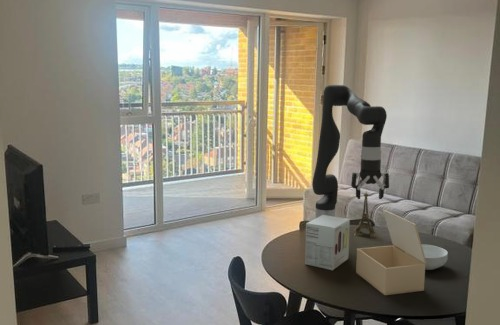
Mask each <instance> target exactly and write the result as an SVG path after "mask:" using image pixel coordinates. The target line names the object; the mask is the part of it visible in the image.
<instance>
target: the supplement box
mask: <svg viewBox="0 0 500 325" xmlns="http://www.w3.org/2000/svg"><path fill="white" fill-rule="evenodd" d="M350 221H351V219H350V218H345V217H339V216H335V217H334V216H328V215H321V216H319V217H317V218H313V219H312V220H310V221H308V222H306V223H305V262H304V263H305V265H308V266H312V267H316V268H321V269H325V270H329V271H334V270H335V269H336V268H339V266H341V265H342V264H343V263H345V262H346V261H347V260H349V248H350V223H351V222H350Z"/></svg>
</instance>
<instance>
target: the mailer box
mask: <svg viewBox="0 0 500 325" xmlns="http://www.w3.org/2000/svg"><path fill="white" fill-rule="evenodd" d="M355 264H356V266H355V267H356V268H355V270H356V271H355V272H356V274H357V275H358V276H359V277H360V278H361V277H362V279H363V280H365V281H366V282H367V283H369V284H370V285H371V286H372V287H374V288H375V289H376V290H377V291H379V292H380V293H381V294H382V295H384V296H389V295H398V294H406V293H413V292H422V291H425V278H426V277H425V276H426V275H425V274H426V270H425V264H424V263H422V262H420V261H419V260H417V259H415V258H413V257H412V256H410V255H408V254H407V253H405V252H403V251H401V250H400V249H398V248H396V247H395V246H393V244H392V245H382V246H381V245H380V246H371V247H361V248H360V247H359V248H356V263H355Z"/></svg>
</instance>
